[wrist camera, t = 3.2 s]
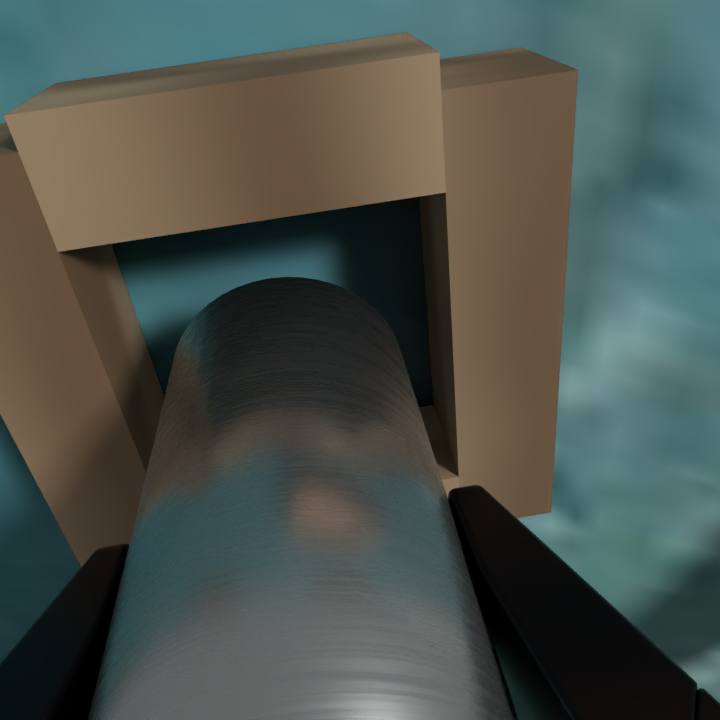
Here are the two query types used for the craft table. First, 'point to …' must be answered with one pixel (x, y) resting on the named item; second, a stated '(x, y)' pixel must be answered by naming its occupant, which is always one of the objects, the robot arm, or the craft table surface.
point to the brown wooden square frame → (276, 200)
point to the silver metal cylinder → (295, 533)
